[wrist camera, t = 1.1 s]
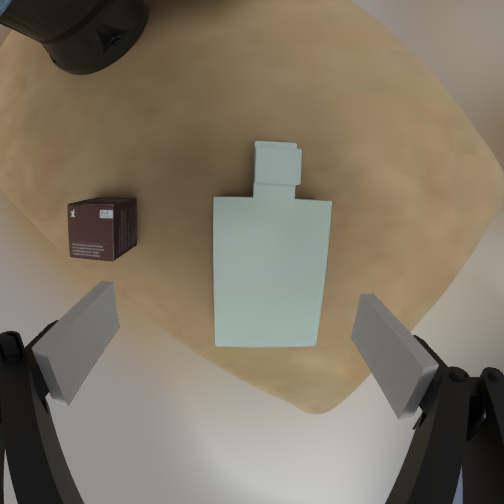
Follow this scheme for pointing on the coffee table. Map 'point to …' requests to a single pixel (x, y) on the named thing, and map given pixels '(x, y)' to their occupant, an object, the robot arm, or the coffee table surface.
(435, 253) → the coffee table surface
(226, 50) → the coffee table surface
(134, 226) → the box
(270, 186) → the lid
